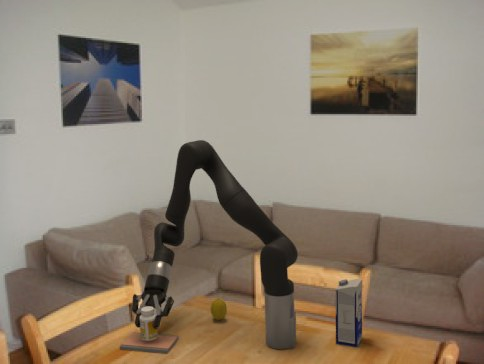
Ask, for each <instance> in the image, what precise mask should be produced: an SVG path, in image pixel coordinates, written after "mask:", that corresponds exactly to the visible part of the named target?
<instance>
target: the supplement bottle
mask: <svg viewBox="0 0 484 364" xmlns="http://www.w3.org/2000/svg"><path fill="white" fill-rule="evenodd" d="M141 314H142V315H141V316H140V328H139V329H140V333H141V338H142V339H143V340H145V341H150V340H154V339H156V338H157V337H158V334H159V332H158V331H159V330H158V329H154V327H153V325H154V321H155V317H156V316H157V313H155V308H153V307H151V306H147V307H143V308H142V309H141Z"/></svg>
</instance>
